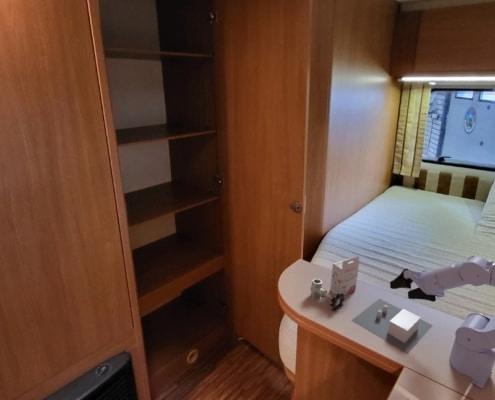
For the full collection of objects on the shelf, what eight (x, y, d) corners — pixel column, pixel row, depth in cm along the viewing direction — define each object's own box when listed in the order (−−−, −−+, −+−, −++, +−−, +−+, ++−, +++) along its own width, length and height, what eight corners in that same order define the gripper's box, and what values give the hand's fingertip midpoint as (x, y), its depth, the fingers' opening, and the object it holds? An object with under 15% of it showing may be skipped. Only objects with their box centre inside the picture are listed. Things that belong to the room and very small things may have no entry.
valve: (305, 297, 119) (331, 315, 110) (306, 281, 116) (333, 298, 108) (317, 290, 123) (343, 307, 114) (318, 275, 120) (346, 291, 112)
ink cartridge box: (345, 284, 127) (350, 250, 122) (355, 291, 123) (360, 256, 118) (329, 290, 123) (333, 255, 118) (338, 297, 119) (343, 262, 114)
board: (432, 327, 105) (434, 318, 103) (406, 356, 93) (408, 346, 92) (379, 300, 117) (380, 292, 116) (351, 322, 106) (352, 313, 105)
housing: (400, 320, 106) (403, 308, 105) (417, 329, 102) (420, 317, 101) (387, 332, 101) (389, 320, 99) (404, 343, 97) (407, 330, 95)
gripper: (457, 276, 94) (415, 287, 104) (422, 255, 90) (382, 268, 100) (461, 300, 89) (417, 309, 100) (425, 278, 85) (382, 290, 96)
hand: (399, 290), depth 99 cm, fingers open, 7 cm apart
